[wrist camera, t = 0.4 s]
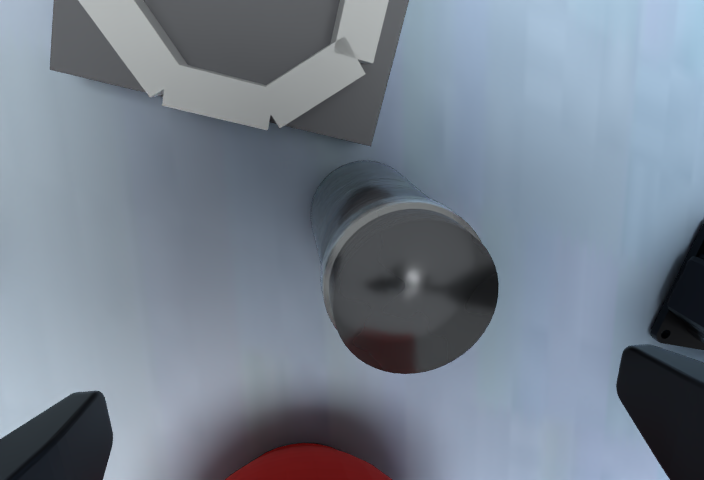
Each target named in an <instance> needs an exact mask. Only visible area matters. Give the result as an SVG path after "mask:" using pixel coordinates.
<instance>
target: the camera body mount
mask: <svg viewBox="0 0 704 480" xmlns="http://www.w3.org/2000/svg"><path fill="white" fill-rule="evenodd" d="M408 2H409V0H54V6H53V23H52V40H51V58H50V70H54V71H58V72H62V73H66V74H70V75H75V76H79V77H83V78H87V79H91V80H95V81H100V82H104V83H108V84H112V85H116V86H121V87H125V88H129V89H133V90H137V91H142V92H146V93H147V94H148V96H149V97H150V98H151V97H155V96H162V97H163V102H162V106H165V107H169V108H174V109H178V110H182V111H186V112H191V113H195V114H199V115H204V116H208V117H212V118H216V119H221V120H225V121H229V122H233V123H238V124H242V125H246V126H250V127H255V128H259V129H263V130H267V131H268V126H269V122H271V123H275V124H277V125H278V126H279V128H281V127H283V126H288V127H292V128H296V129H301V130H305V131H309V132H313V133H317V134H322V135H326V136H330V137H334V138H338V139H342V140H347V141H351V142H355V143H359V144H363V145H368V146H371V144H372V140H373V136H374V132H375V128H376V125H377V121H378V117H379V113H380V109H381V105H382V102H383V98H384V94H385V90H386V86H387V82H388V79H389V75H390V71H391V67H392V63H393V59H394V56H395V52H396V48H397V44H398V40H399V36H400V33H401V29H402V25H403V21H404V17H405V13H406V10H407V6H408Z"/></svg>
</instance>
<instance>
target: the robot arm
mask: <svg viewBox="0 0 704 480" xmlns="http://www.w3.org/2000/svg"><path fill="white" fill-rule="evenodd" d="M662 332H663V333H662ZM651 336H652V337H653V338H654V339H655V340H657V341H658V342H660V343H665V344H671V345H677V346H683V347H689V348H695V349H701V350H704V224H703V225H702V227H701V229H700V231H699V233H698V235H697V237H696V239H695V241H694V243H693V245H692V247H691V249H690V251H689V253H688V255H687V258H686V260H685V262H684V264H683V266H682V268H681V270H680V272H679V274H678V276H677V278H676V280H675V282H674V284H673V286H672V288H671V290H670V292H669V294H668V296H667V298H666V300H665V302H664V304H663V306H662V308H661V310H660V313H659V315H658V317H657V319H656V321H655V323H654V325H653V327H652V329H651ZM616 388H617V394H618V396H619V399H620V400H621V402H622V404H623V405H624V407H625V409H626V410H627V412H628V413H629V415H630V417H631V418H632V420H633V422H634V423H635V425H636V426H637V428H638V430H639V431H640V433H641V435H642V436H643V438H644V439H645V441H646V443H647V444H648V446H649V448H650V449H651V451H652V452H653V454H654V456H655V457H656V459H657V461H658V462H659V464H660V465H661V467H662V468H663V470H664V471H665V473H666V474H667V476H668V477H669V479H670V480H704V363H703V362H700V361H697V360H694V359H691V358H688V357H685V356H683V355H680V354H677V353H674V352H671V351H668V350H665V349H662V348H659V347H656V346H653V345H648V344H645V345H634V346H628V347H627V348H625V349H624V351H623V353H622V358H621V363H620V368H619V373H618V378H617V384H616ZM112 443H113V432H112V427H111V423H110V418H109V414H108V410H107V405H106V401H105V397H104V395H103V394H102V393H101V392H99V391H88V392H76V393H73V394H71V395H69V396H68V397H66V398H64V399H63V400H61V401H60V402H58V403H57V404H55V405H53V406H52V407H50V408H49V409H47V410H46V411H44V412H42V413H41V414H39V415H38V416H36V417H35V418H33V419H31V420H30V421H28V422H27V423H25V424H24V425H22V426H20V427H19V428H17V429H16V430H14V431H13V432H11V433H9V434H8V435H6V436H5V437H3V438H2V439H0V480H103V477H104V473H105V470H106V466H107V463H108V459H109V455H110V452H111V448H112Z"/></svg>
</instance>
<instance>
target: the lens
mask: <svg viewBox="0 0 704 480" xmlns="http://www.w3.org/2000/svg"><path fill="white" fill-rule="evenodd" d="M311 224H312V228H313V232H314V236H315V241H316V245H317V249H318V253H319V258H320V262H321V288H322V293H323V298H324V302H325V306H326V310H327V313H328V315H329V317H330V320H331V322H332V323H333V325H334V326H335V328H336V329H337V331H338V333H339V335H340V337H341V339H342V341H343V342H344V344H345V345H346V346H347V348H348V349H349V350H350V351H351V352H352V353H353V354H354V355H355V356H356V357H357V358H358V359H360V360H361V361H363V362H364V363H366V364H368V365H370V366H372V367H374V368H377V369H380V370H383V371H386V372H392V373H401V374H410V373H420V372H426V371H429V370H433V369H436V368H439V367H441V366H444V365H446V364H448V363H450V362H451V361H453V360H455V359H456V358H458V357H459V356H461V355H462V354H464V353H465V352H466V351H467V350H468V349H470V348H471V347H472V346H473V345H474V344H475V343H476V342H477V341H478V339H479V338H480V337H481V335H482V334H483V333H484V331H485V330H486V328H487V326H488V325H489V323H490V321H491V319H492V316H493V314H494V311H495V308H496V304H497V298H498V276H497V272H496V268H495V265H494V262H493V260H492V258H491V256H490V254H489V252H488V251H487V249H486V248H485V247H484V246H483V244H482V243H481V240H480V239H479V237H478V236H477V234H476V232H475V231H474V230H473V229H472V228H471V226H470V225H469V224H468V223H466V222H465V221H464V220H463V219H462V218H461V217H459V216H458V215H457V214H456V213H454V212H453V211H452V210H451V209H449V208H448V207H446V206H444V205H443V204H441V203H438V202H436V201H434V200H431V199H429V198H428V197H427V196H426V195H425V194H423V193H422V192H421V191H420V190H419V189H418V188H416V187H415V186H414V185H413V184H412V183H410V182H409V181H408V180H407V179H406V178H404V177H403V176H402V175H401V174H400V173H399V172H397V171H396V170H395V169H393V168H391V167H390V166H388V165H385V164H383V163H379V162H375V161H356V162H352V163H348V164H346V165H343V166H341V167H339V168H338V169H336V170H334V171H333V172H332V173H330V174H329V175H328V176H327V177H326V178H325V179H324V180H323V182H322V183H321V184H320V186H319V187H318V189H317V191H316V193H315V195H314V198H313V201H312V205H311Z"/></svg>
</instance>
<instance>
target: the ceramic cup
mask: <svg viewBox="0 0 704 480" xmlns="http://www.w3.org/2000/svg"><path fill="white" fill-rule="evenodd" d="M225 480H392V479H391V478H389V477H388V476H387V475H385V474H384V473H383V472H381V471H380V470H379V469H377V468H376V467H374V466H373V465H371V464H370V463H368V462H366V461H364V460H362V459H359V458H357V457H355V456H353V455H350V454H348V453H346V452H343V451H339V450H336V449H334V448H332V447H329V446H325V445H321V444H313V443H299V444H290V445H286V446H282V447H278V448H275V449H273V450H271V451H268V452H266V453H264V454H263V455H261V456H260V457H258V458H256V459H255V460H253V461H252V462H250V463H248V464H247V465H245V466H244V467H242V468H241V469H239V470H237V471H236V472H234V473H233V474H231V475H230V476H229V477H228V478H226V479H225Z"/></svg>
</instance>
